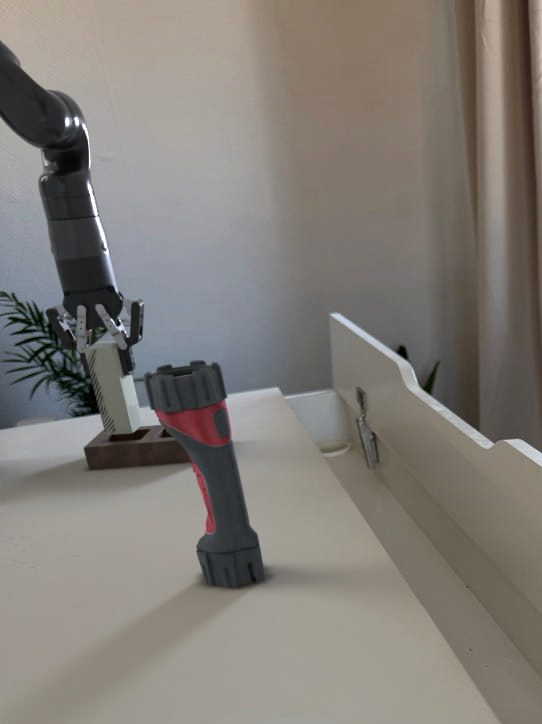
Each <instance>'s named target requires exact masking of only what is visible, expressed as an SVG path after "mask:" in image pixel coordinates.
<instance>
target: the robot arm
mask: <svg viewBox="0 0 542 724" xmlns="http://www.w3.org/2000/svg"><path fill="white" fill-rule="evenodd" d="M0 119H1V121H2V122H4V124H5V125H6V126H7V127H8V128H9V129H10V130H11V131H12V132H13V133H14V134H15V135H16V136H18V137H19V138H20V139H21V140H23V141H24V142H25V143H27V144H28V145H30V146H31V147H34V148H36V149H40V152H41V153H40V155H41V160H42V168H43V169H42V170H43V171H42V173H41V174H40V175H39V177H38V180H37V185H38V186H37V187H38V193H39V197H40V200H41V205H42V208H43V209H42V210H43V212H44V216H45V220H46V224H47V225H46V226H47V233H48V240H49V244H50V251H51V252H50V253H51V254H52V256H53V259H54V263H55V268H56V271H57V276H58V279H59V283H60V287H61V290H62V293H63V297H62V298H63V299H62V303H60V304H59V305H54V306H50V307H49V308H47V309H46V310H45V315H46V318H47V319H48V321H49V323H50V325H51V327H52V328H53V330H54V332H55V334H56V336H57V337H58V339H59V341H60V343H61V345H62V347H63V348H64V349H66V350H67V351H68V350H69V351H70V350H72V351H75V352H76V353H78V354H79V357H80V360H81V364H82V368H83V372H84V374H85V375H86V376H88V377H89V379H90V380H92V379H91V375H90V371H89V367H88V363H87V359H86V356H85V352H84V349H86V348H88V347H89V346H91V345H92V344H91V342H92V341H91V340H92V334H93V330H94V329H96V328H101V329H107V331H108V333H109V335H110V336H112V337H113V340H114V341H116V343H117V344H118V346H119V348H120V350H119V354H120V358H121V363H122V367H123V371H124V375H125V376H129V375H131V374H132V375H133V374H134V371H135V370H136V366H137V365H136V361H135V357H134V351H133V346H134V345H137V344H138V343H139V342H141V341H142V340H143V337H144V336H143V335H144V334H143V333H144V316H145V302H144V300H142V299H140V298H138V299H136V300H135V299H131V298H130V299H129V298H125V297H124V295H123V294H122V292H121V291H120V289H119V285H118V280H117V276H116V275H117V274H116V272H115V268H114V267H115V266H114V262H113V258H112V254H111V250H110V245H109V241H108V237H107V232H106V230H105V227H104V224H103V221H102V218H101V215H100V210H99V206H98V203H97V202H98V201H97V197H96V193H95V190H94V189H95V188H94V185H93V182H92V162H91V147H90V137H89V130H88V125H87V122H86V119H85V116H84V114H83V111H82V109H81V108H80V106H79V104H78V103H77V102H76V101H75V100H74V99H73V98H72V97H71V96H70V95H69V94H67V93H65V92H63V91H62V90H56V89H45V88H44V87H43V86H42V85H40V84H39V83H37V81H36V80H34V78H32V77H31V76H30V75H29V73H27V72H26V71H25V70H24V69H23V68H22V65H21V62H20V59H19V58H18V56H17V55H16V53H14V51H13V50H11V48H9V47H8V46H7V45H6V43H4V42H3V41H2V40H1V39H0ZM123 308H125V310H126V313H127V315H129V317H130V325H129V326H130V327H129V335H128V333H127V331H126V329H125V326H124V323H123V322H122V320H121V318H120V315H121V312H122V310H123ZM66 312H67V313H66ZM67 314H69V315H70V316H71V317H72V319H74V320H75V321H76V334H75V335H76V337H77V338H76V337H75V335H74V333H73V332H72V330H71V328H70V326H69V324H68V322H67Z"/></svg>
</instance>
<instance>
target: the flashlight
mask: <svg viewBox="0 0 542 724" xmlns="http://www.w3.org/2000/svg"><path fill="white" fill-rule="evenodd" d="M142 378H143V385H144V388H145V392H146V393H145V394H146V396H147V400H148V405H149V409H150V410H151V411H154V413H155V416H156V417H157V419H158V422H159V423H160V424H159V425H162V426H163V427H164V429H165V430H166V431H167V432H168V433H169V434H170V435H172V436H173V437H174V438H175V439H176V440H177V441H178V442H179V443H180V444H181V445H182V446H183V447H184V448H185V450H186V451H187V453H188V455H189V457H190V462H189V463H190V464H191V468H192V471H193V473H194V474H195V477H196V482H197V485H198V487H199V489H200V492H201V495H202V500H203V503H204V506H205V508H206V509H205V510H206V512H207V515H206V518H205V519H206V520H205V532H204V534H203V535H202V536H201V537H200V538H199V539H198V542H197V544H196V545H195V547H196V550H195V553H196V556H197V559H198V562H199V565H200V569H201V573H202V575H203V580H204V582H205V584H206V585H209V586H210V587H213V586H214V587H215V586H218V587H224V588H225V589H237V588H239V587H241V586H245V585H249V584H260V583H262V582H264V581H265V580H266V579H267V576H266V570H265V566H264V561H263V556H262V549H261V545H260V539H259V535H258V533H257V531H256V530H254V529H253V527H252V526H251V524H250V517H249V512H248V507H247V502H246V498H245V494H244V489H243V483H242V479H241V473H240V469H239V464H238V460H237V456H236V451H235V446H234V445H235V444H234V441H233V439H232V435H233V434H232V425H231V420H230V415H229V409H228V407H227V403H226V399H228V398H229V397H228V396H229V395H228V392H227V388H226V382H225V379H224V373H223V370H222V367H221V364H220V363H219V362H217V361H213V362H211V363H210V364H207V362H206V361H205V360H202V359H200V360H199V359H197V360H190V361H189V365H181V366H175V367H173V365H172V364H171V363H170V364H169V363H168V364H164V365H161V366H158V367H157V368H156V370H155V372H154V373H152V372H151V371H147V372H145V373H144V374H143V377H142ZM191 460H192V462H191Z"/></svg>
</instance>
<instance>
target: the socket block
mask: <svg viewBox="0 0 542 724" xmlns="http://www.w3.org/2000/svg"><path fill="white" fill-rule="evenodd" d="M82 448H83V452H84V456H85V459H86V463H87V467H88V471H96V470H108V469H109V470H110V469H122V468H132V467H145V466H158V465H159V466H160V465H169V464H170V465H171V464H182V463H191V462H192V460H191V462H190V457H189V455H188V453H187V451H186V450H185V448H184V447H183V446H182V445H181V444H180V443H179V442H178V441H177V440H176V439H175V438H174V437H173V436H172V435H170V434H169V433H168V432H167V431H166V430H165V429H164V427H163V426H162V425H161V424H155V425H142V426H141V427H139V428H138V429H137V430H136V431H135V432H133V433H131V434H116V435H106V434H105V431H104V429H102V430H101V431H100V432H99V433H97V435H96V436H95V437H93V438H92V439H91V440H90V441H89V442H88V443H87V444H86V445H85V446H83V447H82ZM192 463H193V462H192Z"/></svg>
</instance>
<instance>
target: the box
mask: <svg viewBox="0 0 542 724" xmlns="http://www.w3.org/2000/svg"><path fill="white" fill-rule="evenodd" d="M119 350H120V348H119V346H118V344H117V343H116V341H115V340H110V341H108V340H107V341H96V342H95V343H92V344H90V346H89V347H88V348H86V349H84V352H85V356H86V359H87V363H88V367H89V371H90V375H91V379H90V380H91V383H92V387H93V391H94V395H95V398H96V403H97V407H98V411H99V414H100V415H99V416H100V420H101V423H102V427H103V430H104V431H105V434H106V435H116V434H131V433H133V432H135V431H136V430H137V429H138V428H139V427H141V426H144V420H143V417H142V412H141V408H140V404H139V400H138V395H137V392H136V387H135V383H134V378H133V374H131V375H129V376H125V375H124V371H123V367H122V363H121V358H120V354H119Z"/></svg>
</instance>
